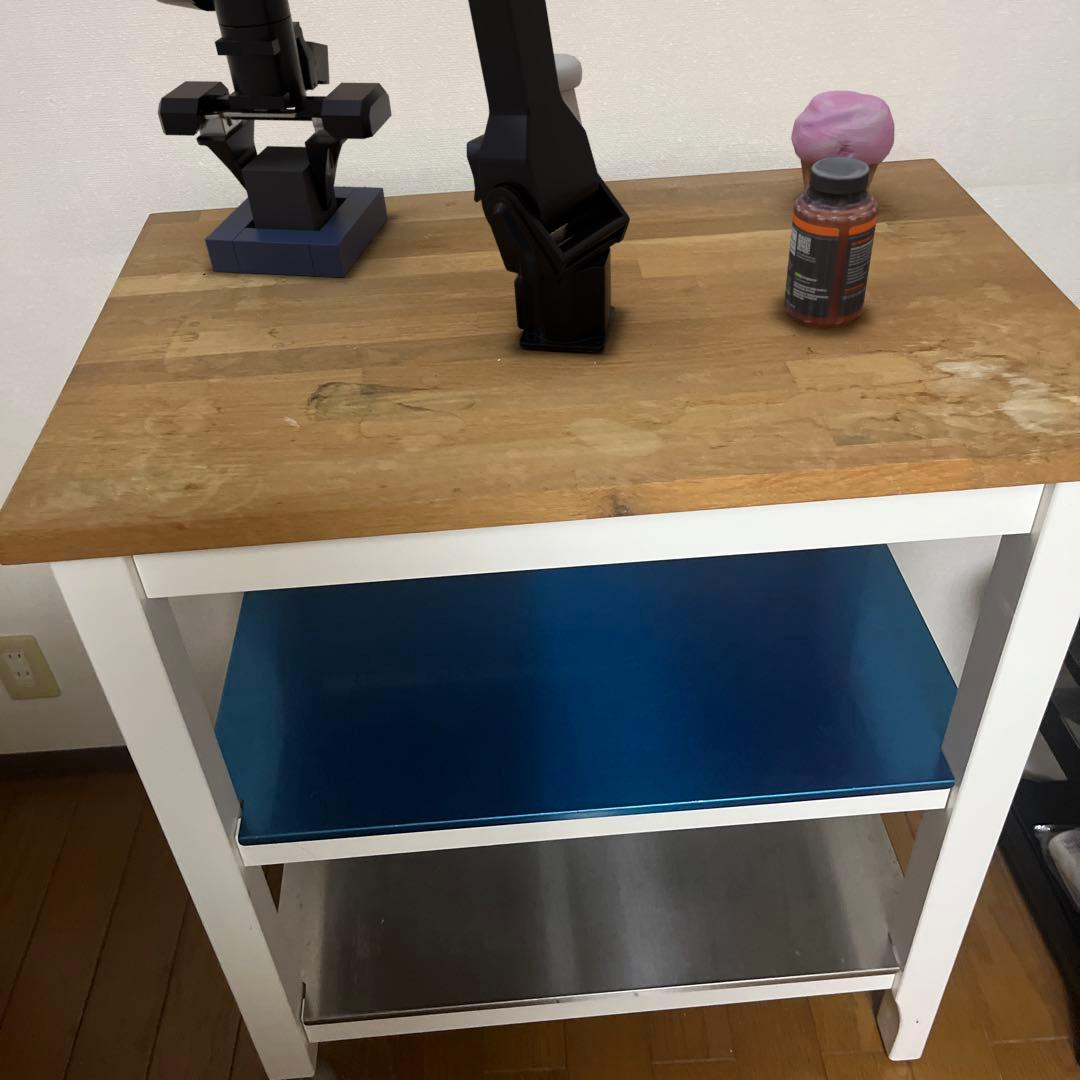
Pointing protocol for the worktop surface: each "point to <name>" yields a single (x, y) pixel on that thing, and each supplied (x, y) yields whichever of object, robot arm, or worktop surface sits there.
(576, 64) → the salt shaker
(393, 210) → the worktop surface
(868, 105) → the cupcake
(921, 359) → the worktop surface
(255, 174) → the black cube
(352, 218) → the base
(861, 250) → the supplement bottle
